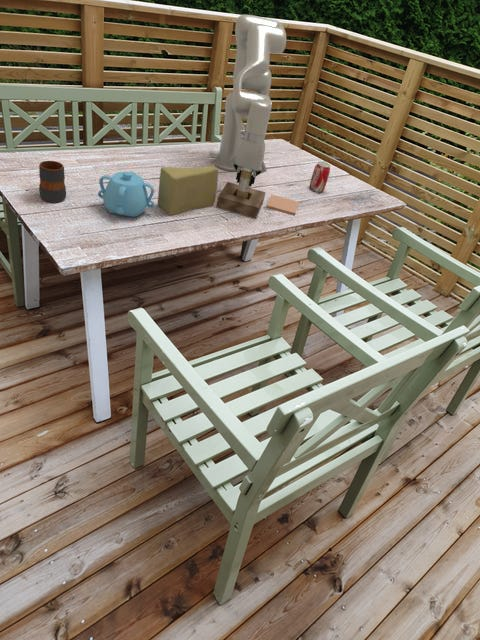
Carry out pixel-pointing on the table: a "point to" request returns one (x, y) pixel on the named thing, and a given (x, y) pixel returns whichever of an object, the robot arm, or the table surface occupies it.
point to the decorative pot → (126, 194)
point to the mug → (52, 181)
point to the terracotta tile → (282, 204)
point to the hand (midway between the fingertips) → (244, 183)
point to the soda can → (320, 177)
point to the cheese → (186, 188)
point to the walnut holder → (240, 200)
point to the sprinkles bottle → (244, 183)
